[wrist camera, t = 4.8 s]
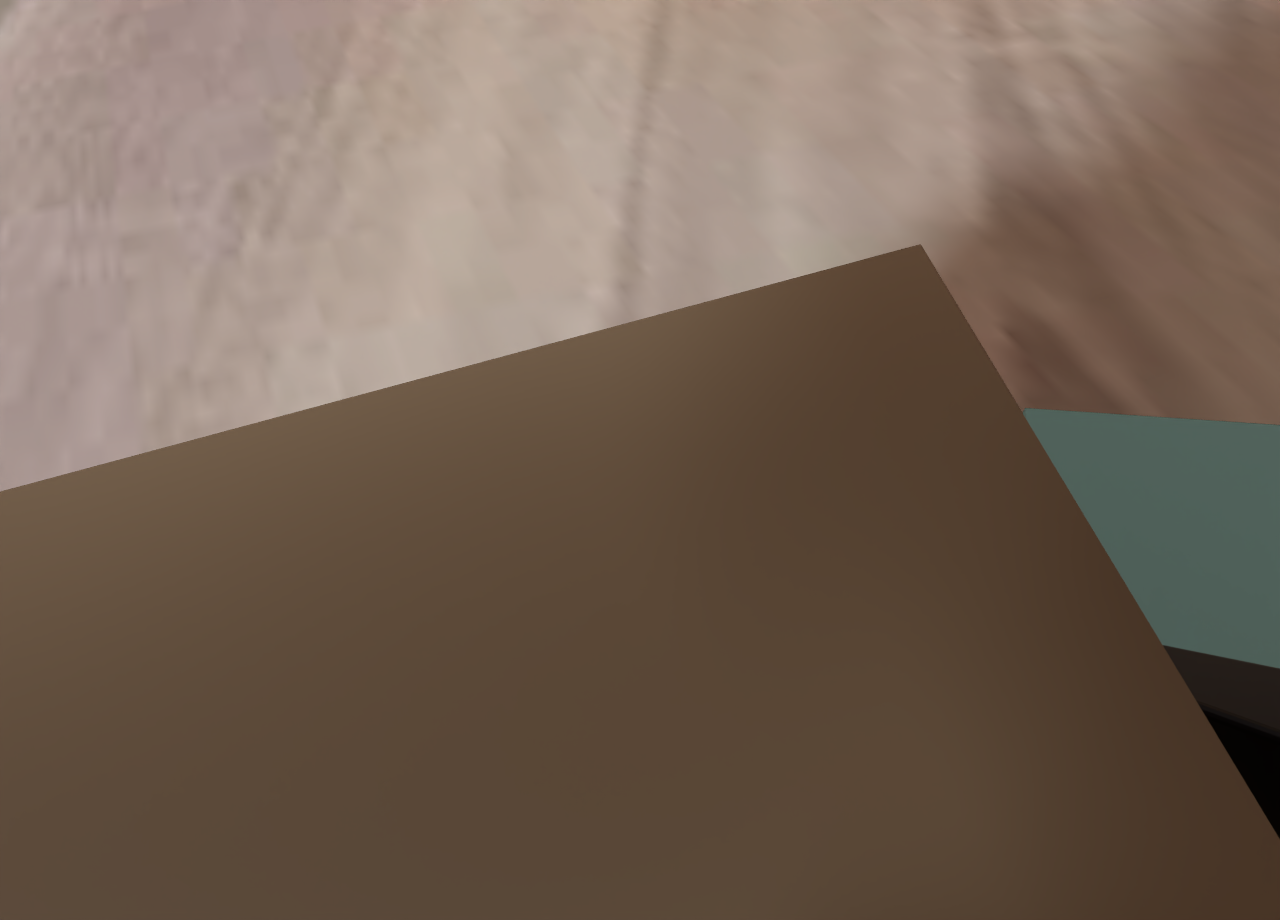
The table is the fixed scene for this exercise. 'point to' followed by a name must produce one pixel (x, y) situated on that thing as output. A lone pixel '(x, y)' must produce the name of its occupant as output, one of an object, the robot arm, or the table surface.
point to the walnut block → (612, 650)
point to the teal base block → (1182, 520)
